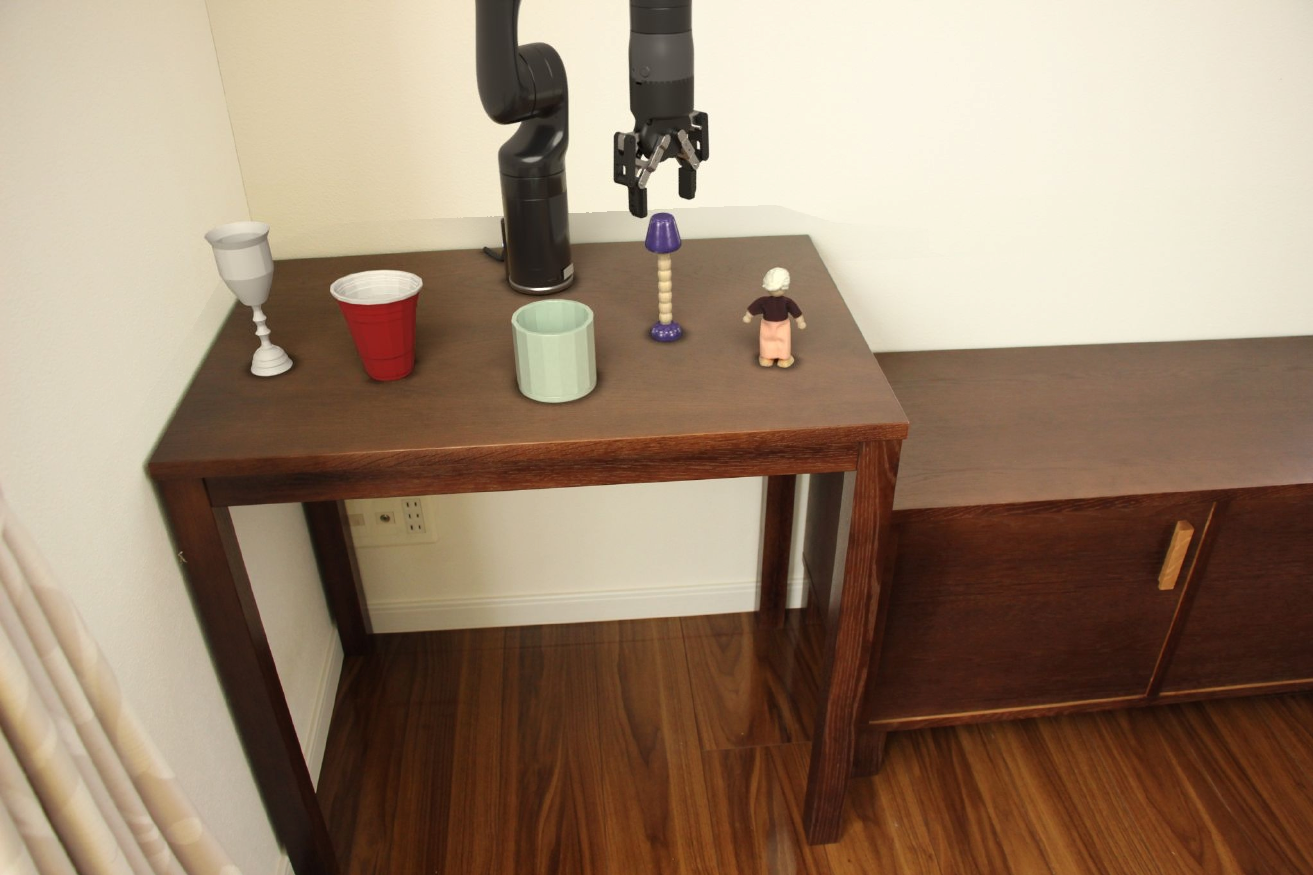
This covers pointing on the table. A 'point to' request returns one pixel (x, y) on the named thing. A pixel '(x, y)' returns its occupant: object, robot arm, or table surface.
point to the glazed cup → (554, 350)
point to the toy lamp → (664, 272)
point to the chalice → (250, 282)
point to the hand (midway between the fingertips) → (663, 207)
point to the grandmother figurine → (775, 319)
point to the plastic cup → (381, 319)
